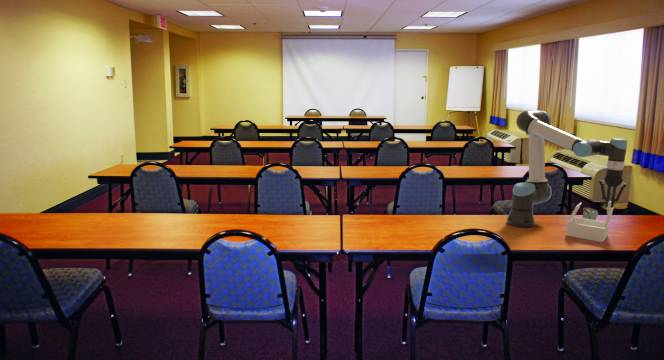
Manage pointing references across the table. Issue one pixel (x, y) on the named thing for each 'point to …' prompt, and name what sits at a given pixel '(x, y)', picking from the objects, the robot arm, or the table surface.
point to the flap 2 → (608, 216)
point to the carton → (587, 229)
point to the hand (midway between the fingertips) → (608, 213)
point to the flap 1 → (574, 211)
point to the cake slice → (590, 213)
